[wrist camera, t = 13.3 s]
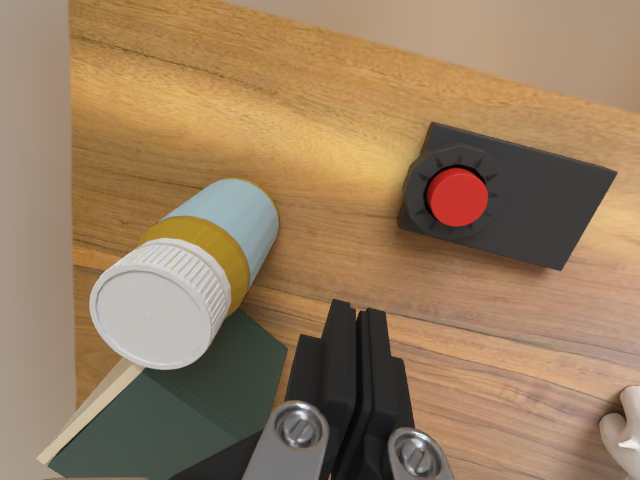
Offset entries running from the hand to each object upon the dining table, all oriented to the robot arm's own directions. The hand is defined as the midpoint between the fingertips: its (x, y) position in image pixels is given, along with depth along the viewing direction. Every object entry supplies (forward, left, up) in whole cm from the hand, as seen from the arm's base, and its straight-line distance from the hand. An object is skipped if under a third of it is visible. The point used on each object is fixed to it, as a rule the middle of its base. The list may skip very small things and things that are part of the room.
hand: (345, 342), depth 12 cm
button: (+5, +5, -17) cm, 18 cm away
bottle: (-5, -9, -20) cm, 22 cm away
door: (-4, -23, -19) cm, 30 cm away
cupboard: (+2, -23, -20) cm, 30 cm away
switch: (+8, +7, -20) cm, 22 cm away
